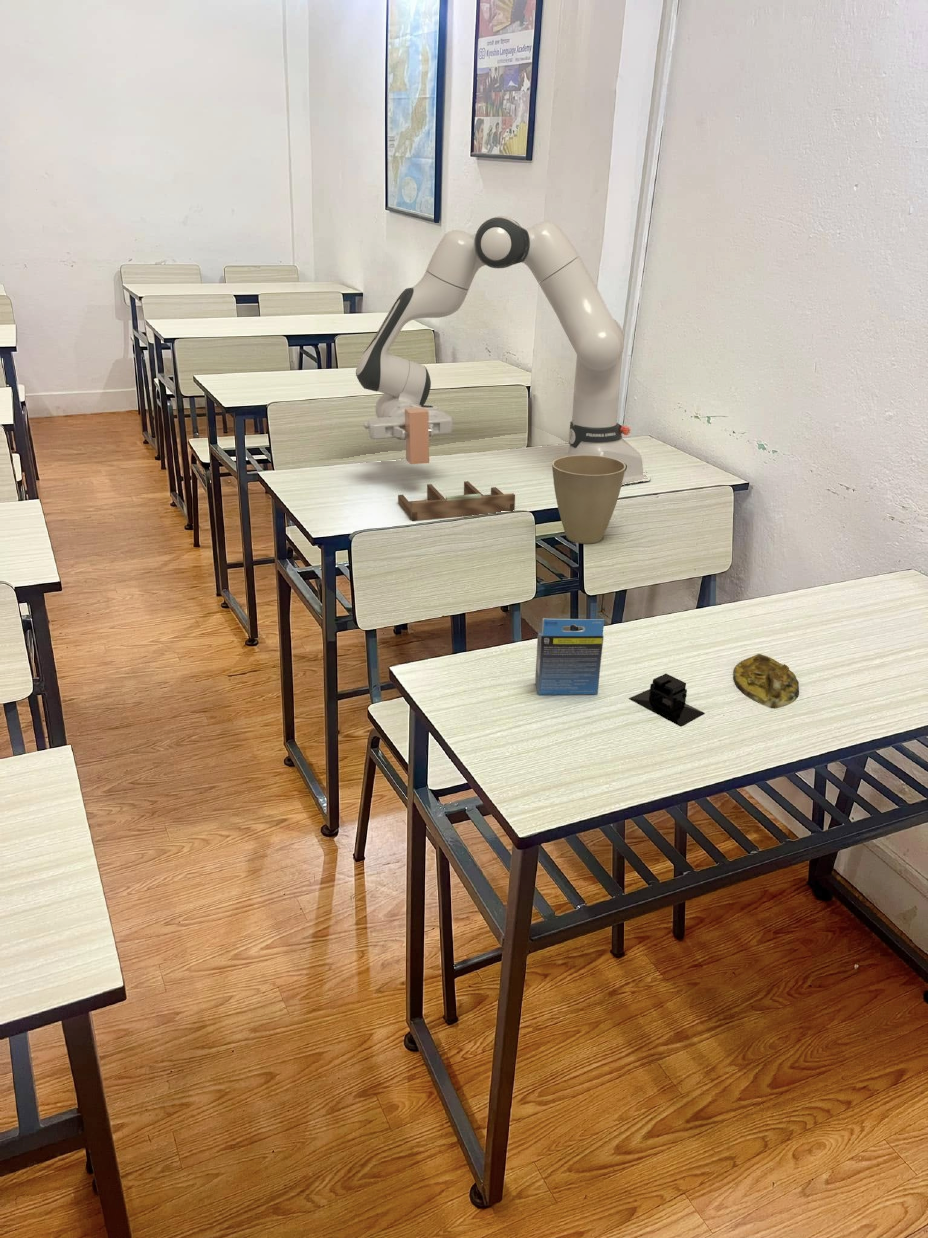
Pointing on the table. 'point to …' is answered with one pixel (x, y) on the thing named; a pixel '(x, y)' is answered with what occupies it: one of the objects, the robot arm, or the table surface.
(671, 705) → the black stand
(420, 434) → the terracotta block
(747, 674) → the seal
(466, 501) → the box
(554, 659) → the label tape box
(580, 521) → the plant pot
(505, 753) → the table surface
